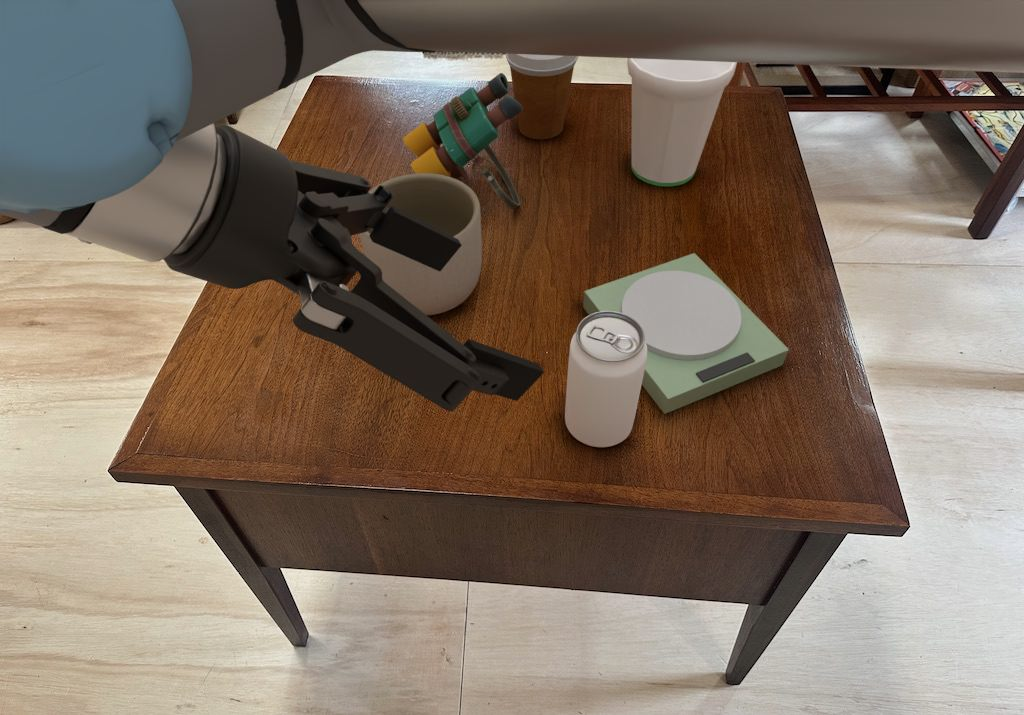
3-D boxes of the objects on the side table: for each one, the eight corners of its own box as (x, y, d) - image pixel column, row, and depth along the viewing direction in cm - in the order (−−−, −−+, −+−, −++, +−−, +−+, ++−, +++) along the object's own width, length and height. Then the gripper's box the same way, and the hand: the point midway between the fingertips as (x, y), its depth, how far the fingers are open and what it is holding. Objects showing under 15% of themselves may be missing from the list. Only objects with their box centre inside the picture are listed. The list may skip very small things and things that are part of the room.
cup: (727, 161, 94) (755, 48, 82) (682, 208, 88) (706, 93, 76) (645, 132, 99) (661, 21, 87) (597, 174, 93) (607, 61, 81)
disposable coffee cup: (508, 109, 103) (506, 27, 94) (573, 110, 103) (578, 27, 94) (505, 146, 97) (503, 61, 88) (575, 146, 97) (580, 61, 88)
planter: (477, 246, 83) (472, 167, 75) (491, 321, 75) (487, 241, 67) (371, 258, 82) (354, 179, 74) (374, 335, 74) (355, 256, 66)
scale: (782, 365, 71) (791, 344, 68) (664, 414, 67) (669, 393, 65) (690, 268, 80) (695, 247, 78) (582, 306, 77) (584, 285, 74)
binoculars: (459, 189, 96) (388, 112, 85) (544, 128, 93) (481, 39, 82) (483, 255, 87) (408, 177, 76) (578, 190, 84) (513, 98, 73)
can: (615, 461, 64) (630, 376, 55) (552, 431, 66) (556, 346, 57) (644, 410, 67) (662, 323, 58) (583, 384, 70) (591, 297, 61)
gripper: (126, 127, 43) (395, 248, 58) (190, 439, 28) (529, 489, 43) (185, 21, 40) (451, 176, 55) (290, 302, 25) (613, 407, 41)
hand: (485, 314), depth 49 cm, fingers open, 13 cm apart
